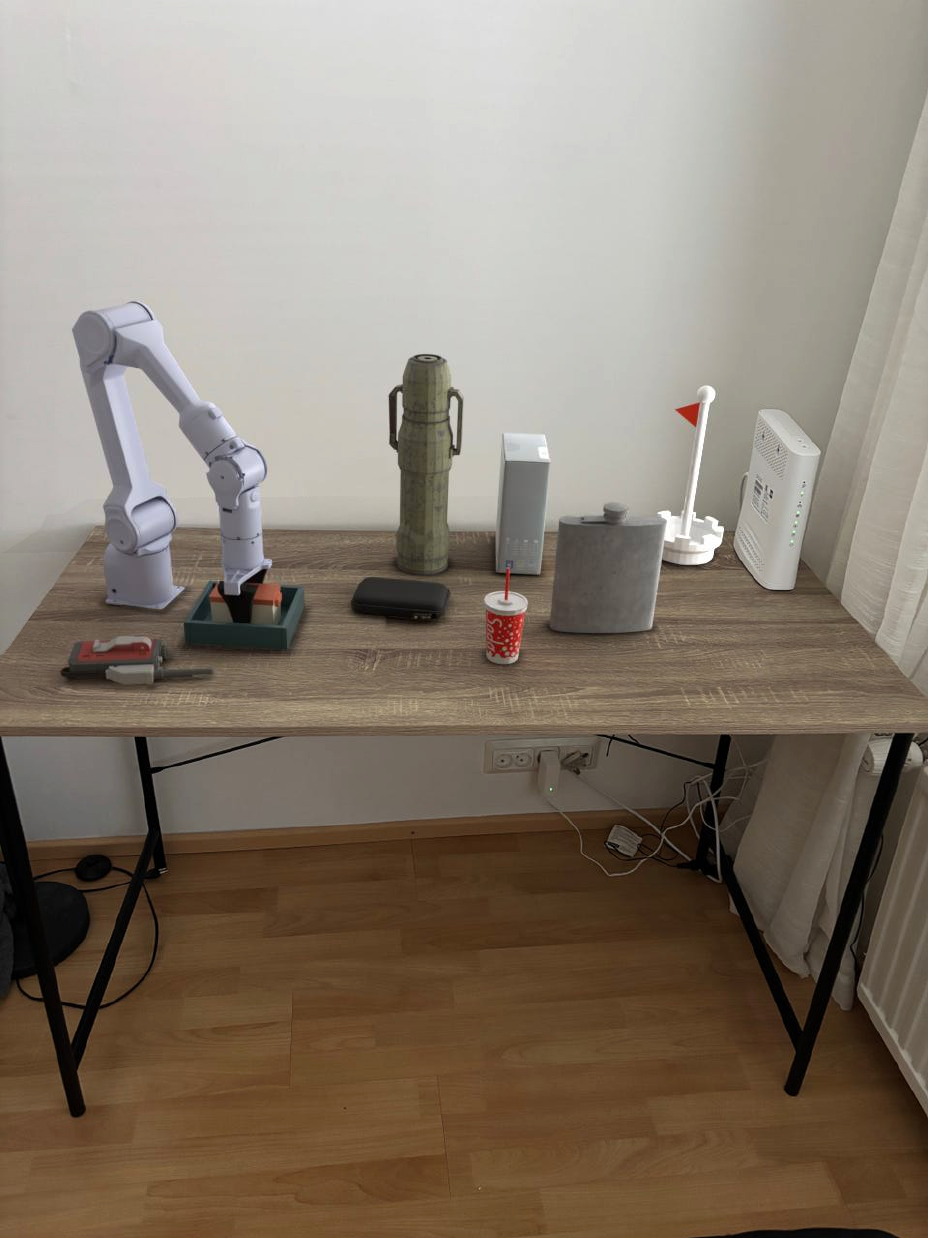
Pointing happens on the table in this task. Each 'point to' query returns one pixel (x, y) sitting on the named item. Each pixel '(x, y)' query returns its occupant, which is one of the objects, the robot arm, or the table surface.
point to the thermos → (424, 462)
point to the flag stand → (692, 500)
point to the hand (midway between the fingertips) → (246, 617)
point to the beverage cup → (504, 624)
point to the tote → (244, 634)
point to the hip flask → (607, 572)
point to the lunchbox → (263, 605)
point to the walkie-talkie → (123, 661)
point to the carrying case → (401, 598)
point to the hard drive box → (522, 503)
